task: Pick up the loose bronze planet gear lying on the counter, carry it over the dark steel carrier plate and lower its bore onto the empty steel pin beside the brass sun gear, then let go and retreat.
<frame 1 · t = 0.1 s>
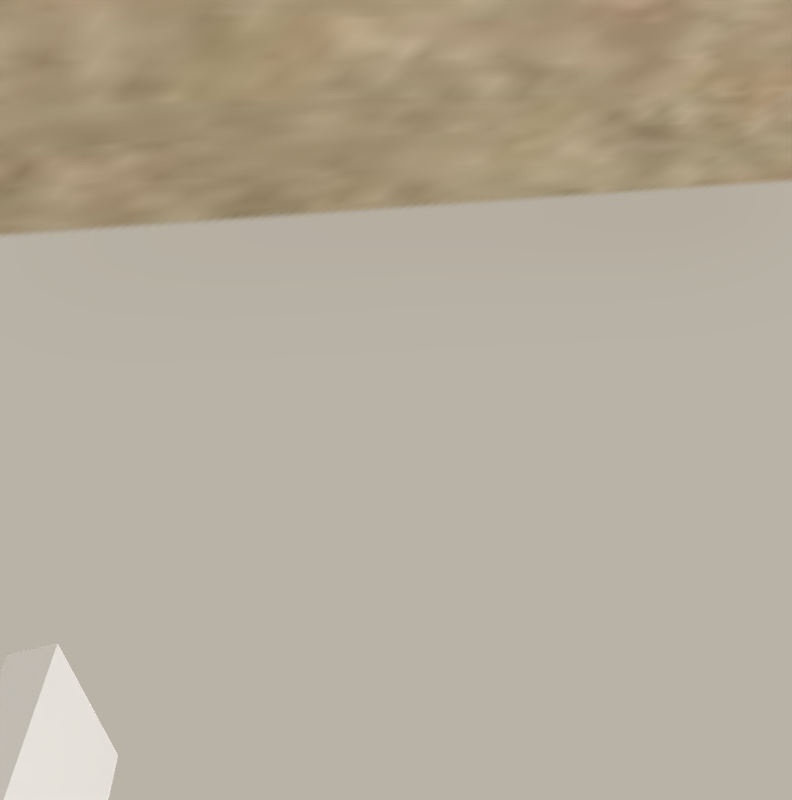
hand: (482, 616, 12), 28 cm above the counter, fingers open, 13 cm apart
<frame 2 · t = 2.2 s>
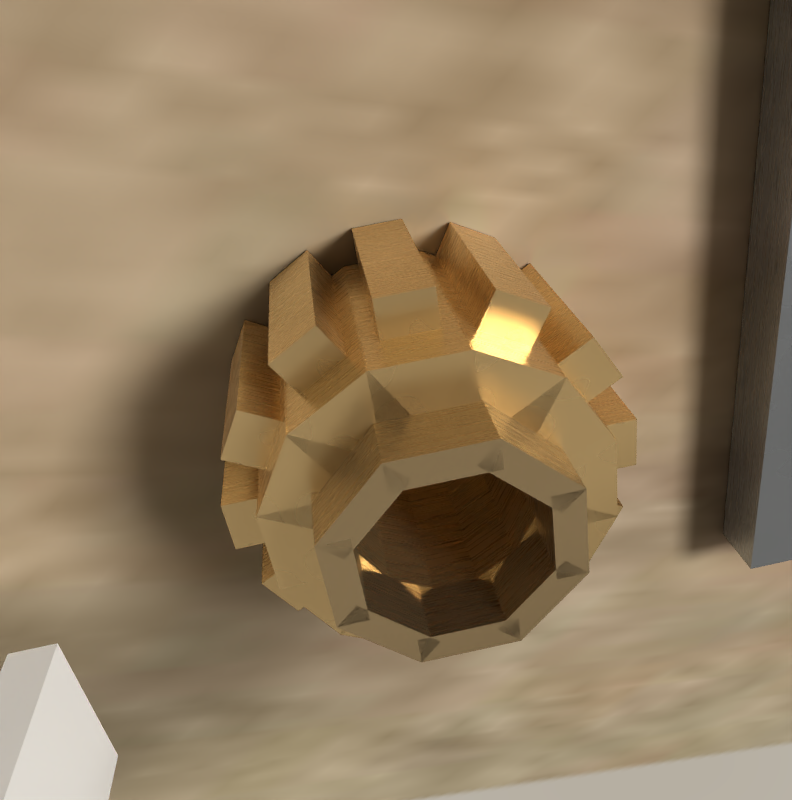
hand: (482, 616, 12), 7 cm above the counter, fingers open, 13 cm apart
gear: (404, 387, 18), on the counter
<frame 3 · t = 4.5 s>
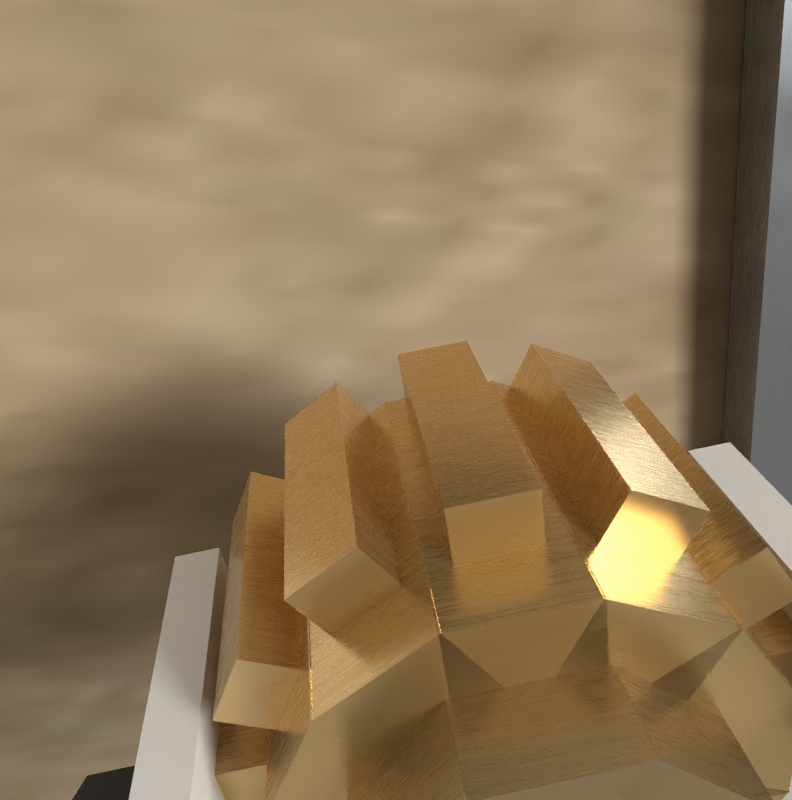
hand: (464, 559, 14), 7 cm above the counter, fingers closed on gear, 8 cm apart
gear: (461, 547, 14), point 7 cm above the counter, touching gripper
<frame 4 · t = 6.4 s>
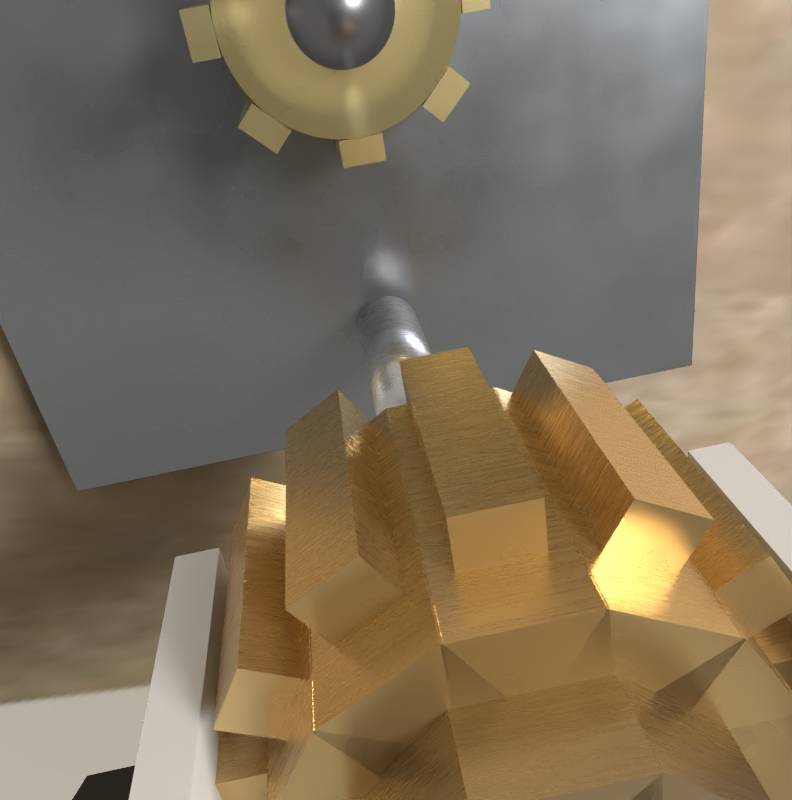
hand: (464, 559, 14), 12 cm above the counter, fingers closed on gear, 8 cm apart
carrier: (334, 45, 20), on the counter
gear: (463, 553, 14), point 12 cm above the counter, touching gripper
when the fingers open (3 cm above the counter, at t = 8.3 s): gear stays where it is, resting on carrier.
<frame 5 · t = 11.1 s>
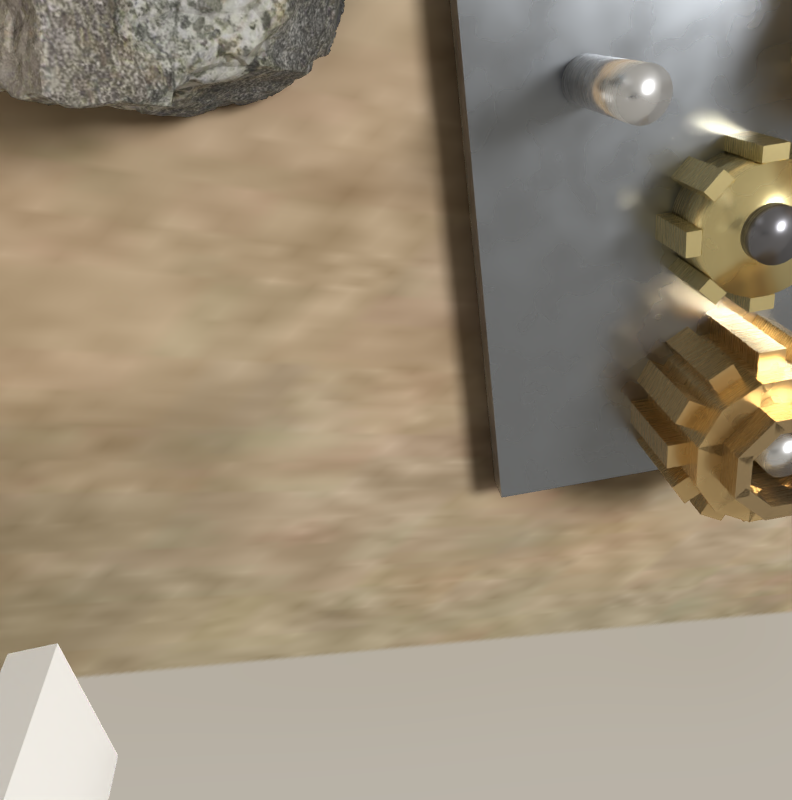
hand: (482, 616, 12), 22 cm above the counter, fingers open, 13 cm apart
carrier: (712, 228, 33), on the counter
gear: (717, 396, 35), point 1 cm above the counter, touching carrier
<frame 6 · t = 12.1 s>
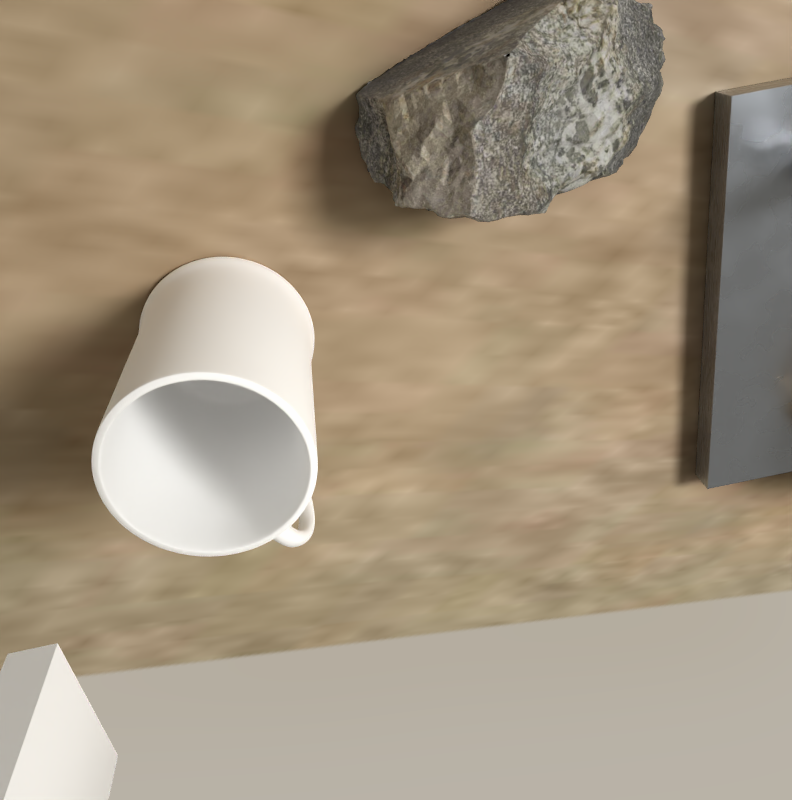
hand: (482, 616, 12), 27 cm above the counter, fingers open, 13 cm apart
mug: (244, 362, 39), on the counter
rock: (505, 108, 35), on the counter
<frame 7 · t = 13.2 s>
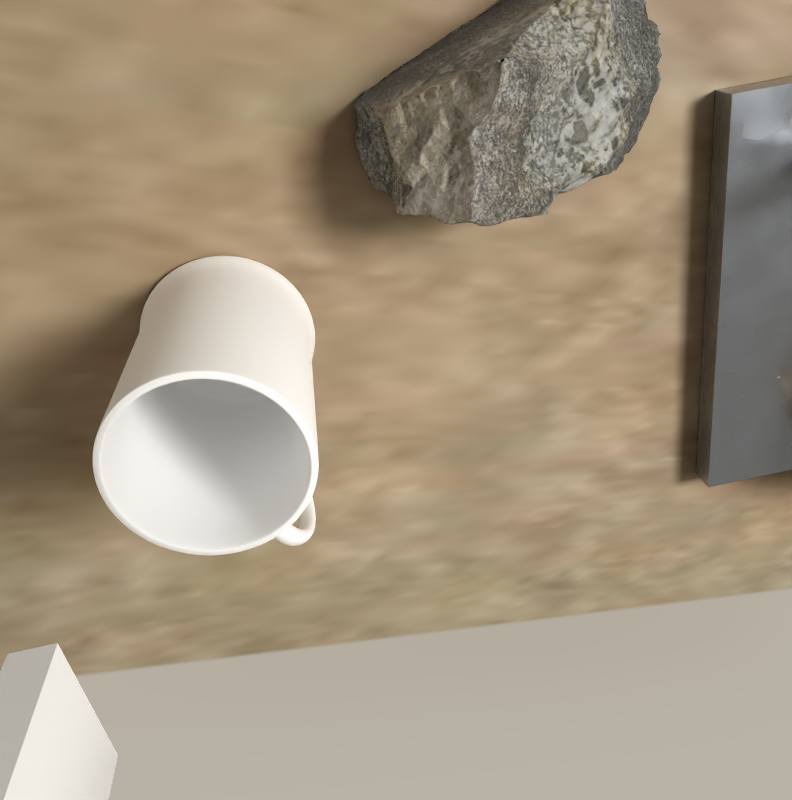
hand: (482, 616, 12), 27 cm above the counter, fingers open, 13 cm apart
mug: (244, 361, 39), on the counter
rock: (503, 110, 35), on the counter
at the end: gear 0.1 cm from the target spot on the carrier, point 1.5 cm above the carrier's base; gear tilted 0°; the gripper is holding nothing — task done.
